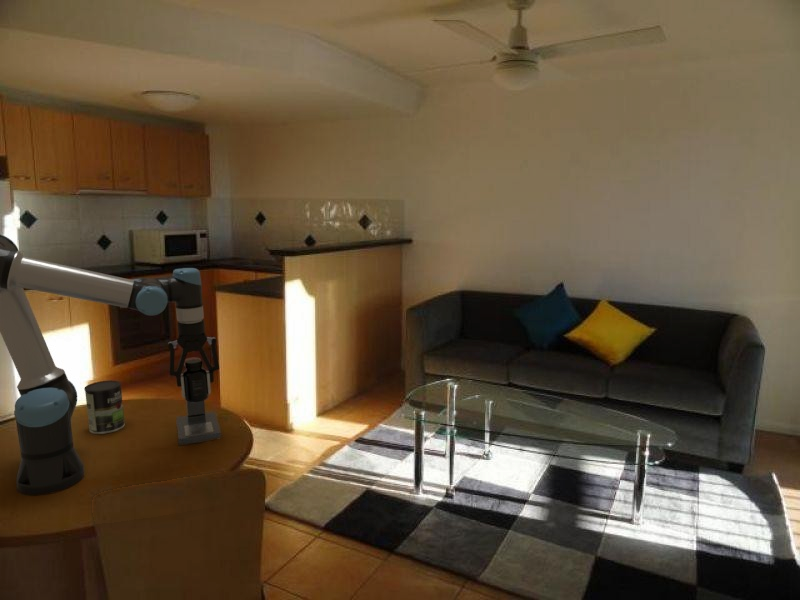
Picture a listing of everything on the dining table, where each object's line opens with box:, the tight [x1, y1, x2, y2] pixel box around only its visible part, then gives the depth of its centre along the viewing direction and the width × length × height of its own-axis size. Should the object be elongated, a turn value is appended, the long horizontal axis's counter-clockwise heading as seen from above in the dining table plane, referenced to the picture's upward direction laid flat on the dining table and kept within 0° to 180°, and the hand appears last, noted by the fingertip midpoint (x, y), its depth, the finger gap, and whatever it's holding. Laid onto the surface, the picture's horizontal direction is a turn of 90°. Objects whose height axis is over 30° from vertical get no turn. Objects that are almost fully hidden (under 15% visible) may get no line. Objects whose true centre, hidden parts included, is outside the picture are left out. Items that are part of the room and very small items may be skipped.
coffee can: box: [84, 379, 126, 435], centre depth 182 cm, size 10×10×14 cm
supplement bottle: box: [182, 358, 209, 402], centre depth 174 cm, size 7×7×12 cm
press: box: [175, 400, 222, 446], centre depth 179 cm, size 18×12×14 cm, turn 23°
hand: (196, 394), depth 174 cm, fingers closed on supplement bottle, 7 cm apart
